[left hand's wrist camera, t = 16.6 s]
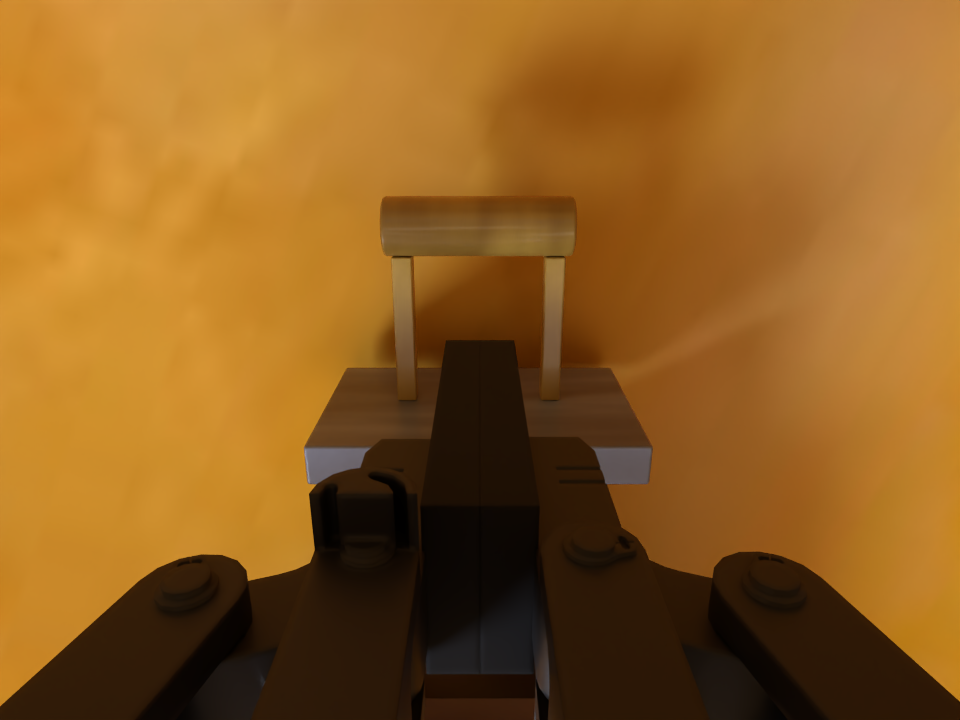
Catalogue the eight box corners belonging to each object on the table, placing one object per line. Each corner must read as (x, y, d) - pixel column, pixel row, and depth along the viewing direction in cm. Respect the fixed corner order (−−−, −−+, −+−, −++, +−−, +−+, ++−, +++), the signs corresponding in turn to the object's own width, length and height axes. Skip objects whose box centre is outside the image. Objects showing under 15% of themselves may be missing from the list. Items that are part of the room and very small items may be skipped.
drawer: (333, 187, 21) (277, 211, 15) (624, 187, 21) (678, 211, 15) (373, 721, 29) (347, 867, 23) (584, 721, 29) (610, 867, 23)
